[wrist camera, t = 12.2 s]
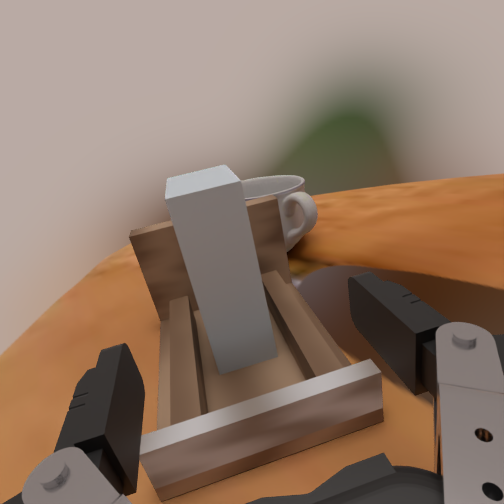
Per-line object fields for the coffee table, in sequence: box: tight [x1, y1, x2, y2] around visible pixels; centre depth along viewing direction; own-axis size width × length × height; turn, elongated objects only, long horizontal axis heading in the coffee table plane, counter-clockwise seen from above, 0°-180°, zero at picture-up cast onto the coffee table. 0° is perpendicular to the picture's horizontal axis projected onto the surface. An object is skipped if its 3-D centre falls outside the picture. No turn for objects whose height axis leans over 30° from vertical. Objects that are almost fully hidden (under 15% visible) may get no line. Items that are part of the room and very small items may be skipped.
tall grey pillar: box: [165, 165, 278, 375], centre depth 23 cm, size 4×6×12 cm, turn 12°
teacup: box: [241, 175, 318, 252], centre depth 38 cm, size 14×11×8 cm
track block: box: [129, 195, 384, 502], centre depth 23 cm, size 12×16×9 cm
